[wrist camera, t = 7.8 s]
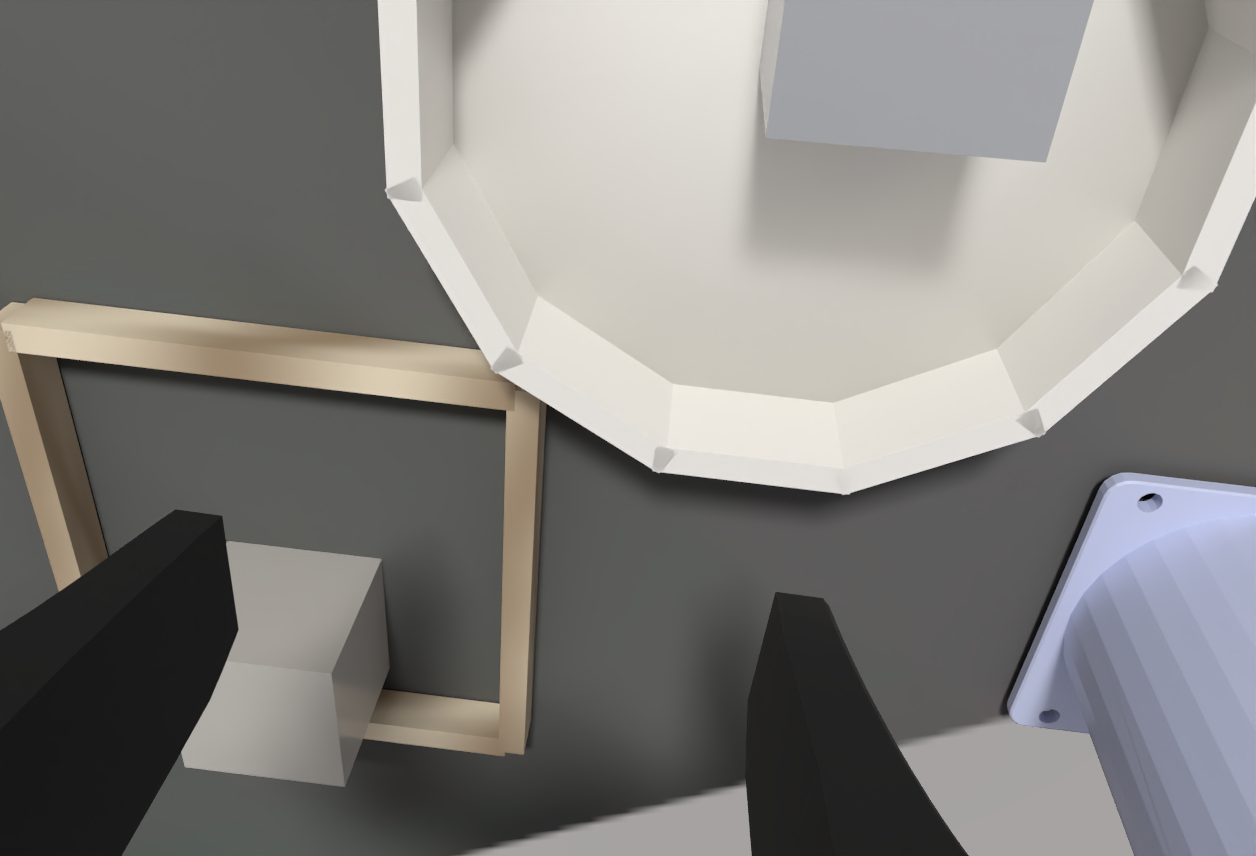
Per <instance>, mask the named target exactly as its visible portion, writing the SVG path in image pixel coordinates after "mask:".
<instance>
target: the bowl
mask: <svg viewBox="0 0 1256 856" xmlns="http://www.w3.org/2000/svg"><path fill="white" fill-rule="evenodd" d="M767 5H768V0H378V15H379V36H380V57H381V78H382V99H383V120H384V141H385V162H386V183H387V188H386V189H385V191H386V193H387V198H390V200H391V201H392V203H393V205H394V206H395V208H396V210H397V211H398V213H399V215H400V216H401V218H402V220H403V221H404V223H405V225H406V226H407V228H408V229H409V231H410V233H411V234H412V236H413V238H414V239H415V241H416V243H417V244H418V246H419V248H420V249H421V251H422V253H423V254H424V256H425V258H426V259H427V261H428V263H429V264H430V266H431V268H432V269H433V271H434V273H435V274H436V276H437V277H438V279H439V281H440V282H441V284H442V286H443V287H444V289H445V291H446V292H447V294H448V296H449V297H450V299H451V301H452V302H453V304H454V306H455V307H456V309H457V311H458V312H459V314H460V316H461V317H462V319H463V321H464V322H465V324H466V325H467V327H468V329H469V330H470V332H471V334H472V335H473V337H474V339H475V340H476V342H477V344H478V345H479V347H480V349H481V350H482V352H483V354H484V355H485V357H486V359H487V360H488V362H489V364H490V365H491V368H490V369H492V370H493V371H494V372H495V373H496V374H497V373H498V374H500V375H502V376H503V377H505V378H506V379H508V380H510V381H511V382H513V383H514V384H516V385H518V386H519V387H521V388H522V389H524V390H526V391H527V392H529V393H530V394H532V395H534V396H535V397H537V398H538V399H540V400H542V401H543V402H545V403H547V404H548V405H550V406H551V407H553V408H555V409H556V410H558V411H559V412H561V413H563V414H564V415H566V416H567V417H569V418H571V419H572V420H574V421H575V422H577V423H579V424H580V425H582V426H583V427H585V428H587V429H588V430H590V431H591V432H593V433H595V434H596V435H598V436H600V437H601V438H603V439H604V440H606V441H608V442H609V443H611V444H612V445H614V446H616V447H617V448H619V449H620V450H622V451H624V452H625V453H627V454H628V455H630V456H632V457H633V458H635V459H636V460H638V461H640V462H641V463H643V464H645V465H646V466H648V467H649V468H651V469H652V471H655V472H657V473H660V472H663V473H672V474H680V475H688V476H697V477H705V478H714V479H722V480H730V481H739V482H747V483H756V484H764V485H772V486H781V487H789V488H798V489H806V490H814V491H823V492H831V493H839V494H842V495H845V494H848V495H850V493H852V492H855V491H858V490H862V489H865V488H868V487H872V486H875V485H878V484H881V483H885V482H888V481H891V480H895V479H898V478H901V477H905V476H908V475H911V474H914V473H918V472H921V471H924V470H928V469H931V468H934V467H938V466H941V465H944V464H948V463H951V462H954V461H957V460H961V459H964V458H967V457H971V456H974V455H977V454H981V453H984V452H987V451H990V450H994V449H997V448H1000V447H1004V446H1007V445H1010V444H1014V443H1017V442H1020V441H1024V440H1027V439H1030V438H1033V437H1038V438H1039V437H1040V436H1041V435H1043V434H1046V433H1045V432H1046V431H1047V430H1048V429H1049V428H1050V427H1052V426H1053V425H1054V424H1055V423H1056V422H1058V421H1059V420H1060V419H1061V418H1062V417H1063V416H1065V415H1066V414H1067V413H1068V412H1069V411H1070V410H1072V409H1073V408H1074V407H1075V406H1076V405H1078V404H1079V403H1080V402H1081V401H1082V400H1083V399H1085V398H1086V397H1087V396H1088V395H1089V394H1090V393H1092V392H1093V391H1094V390H1095V389H1096V388H1098V387H1099V386H1100V385H1101V384H1102V383H1103V382H1105V381H1106V380H1107V379H1108V378H1109V377H1111V376H1112V375H1113V374H1114V373H1115V372H1116V371H1118V370H1119V369H1120V368H1121V367H1122V366H1123V365H1125V364H1126V363H1127V362H1128V361H1129V360H1131V359H1132V358H1133V357H1134V356H1135V355H1136V354H1138V353H1139V352H1140V351H1141V350H1142V349H1143V348H1145V347H1146V346H1147V345H1148V344H1149V343H1151V342H1152V341H1153V340H1154V339H1155V338H1156V337H1158V336H1159V335H1160V334H1161V333H1162V332H1163V331H1165V330H1166V329H1167V328H1168V327H1169V326H1171V325H1172V324H1173V323H1174V322H1175V321H1176V320H1178V319H1179V318H1180V317H1181V316H1182V315H1184V314H1185V313H1186V312H1187V311H1188V310H1189V309H1191V308H1192V307H1193V306H1194V305H1195V304H1196V303H1198V302H1199V301H1200V300H1201V299H1202V298H1204V297H1205V296H1206V295H1207V294H1208V293H1209V292H1213V290H1214V288H1215V287H1216V286H1218V284H1217V281H1218V279H1219V277H1220V275H1221V273H1222V270H1223V268H1224V266H1225V264H1226V261H1227V259H1228V257H1229V255H1230V253H1231V250H1232V248H1233V246H1234V244H1235V241H1236V239H1237V237H1238V235H1239V232H1240V230H1241V228H1242V226H1243V224H1244V221H1245V219H1246V217H1247V215H1248V212H1249V210H1250V208H1251V206H1252V203H1253V201H1254V199H1255V197H1256V0H1094V2H1093V6H1092V9H1091V12H1090V16H1089V19H1088V22H1087V26H1086V29H1085V32H1084V36H1083V39H1082V43H1081V46H1080V49H1079V53H1078V56H1077V59H1076V63H1075V66H1074V69H1073V73H1072V76H1071V80H1070V83H1069V86H1068V90H1067V93H1066V96H1065V100H1064V103H1063V106H1062V110H1061V113H1060V117H1059V120H1058V123H1057V127H1056V130H1055V133H1054V137H1053V140H1052V144H1051V147H1050V150H1049V154H1048V157H1047V160H1046V163H1045V162H1033V161H1022V160H1010V159H999V158H988V157H976V156H965V155H953V154H942V153H931V152H919V151H908V150H896V149H885V148H874V147H862V146H851V145H839V144H828V143H817V142H805V141H794V140H782V139H771V138H766V135H765V124H764V113H763V101H762V90H761V79H760V59H761V51H762V43H763V36H764V28H765V20H766V13H767Z"/></svg>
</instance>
